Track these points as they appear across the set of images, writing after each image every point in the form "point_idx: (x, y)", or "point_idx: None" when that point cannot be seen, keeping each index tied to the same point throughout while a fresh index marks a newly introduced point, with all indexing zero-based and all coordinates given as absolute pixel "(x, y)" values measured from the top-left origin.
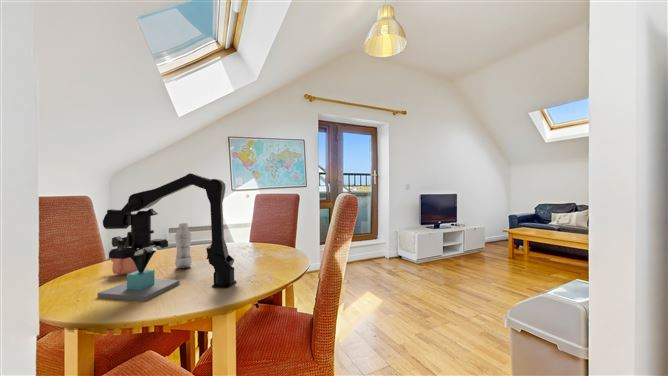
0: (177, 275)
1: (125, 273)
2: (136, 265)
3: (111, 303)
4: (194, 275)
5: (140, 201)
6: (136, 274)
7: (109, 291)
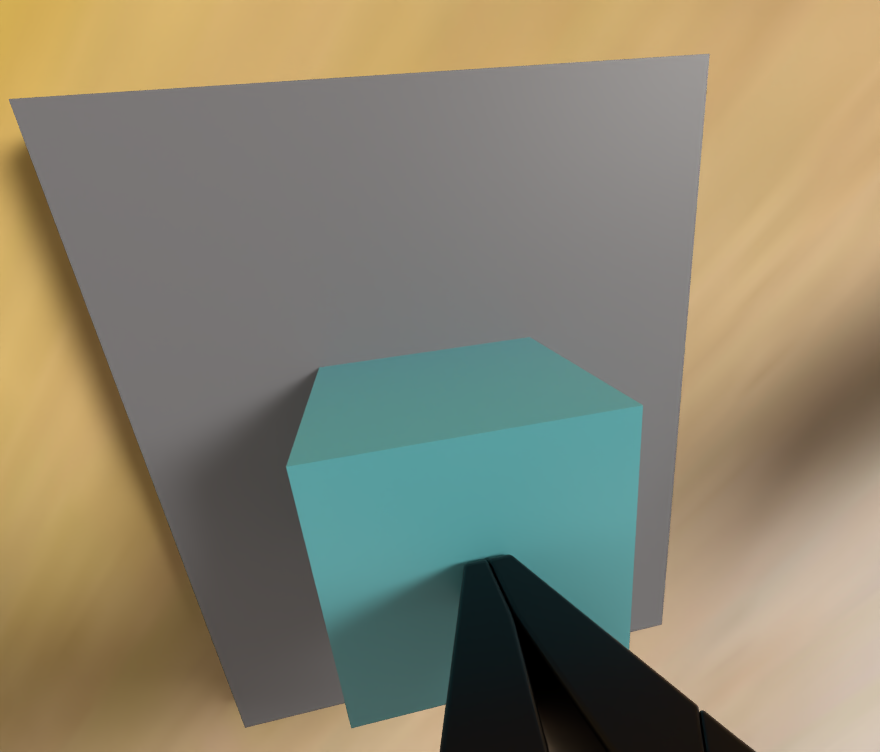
0: (866, 371)
1: None
2: (447, 743)
3: (69, 480)
4: (854, 520)
5: None
6: (359, 629)
7: (149, 231)
